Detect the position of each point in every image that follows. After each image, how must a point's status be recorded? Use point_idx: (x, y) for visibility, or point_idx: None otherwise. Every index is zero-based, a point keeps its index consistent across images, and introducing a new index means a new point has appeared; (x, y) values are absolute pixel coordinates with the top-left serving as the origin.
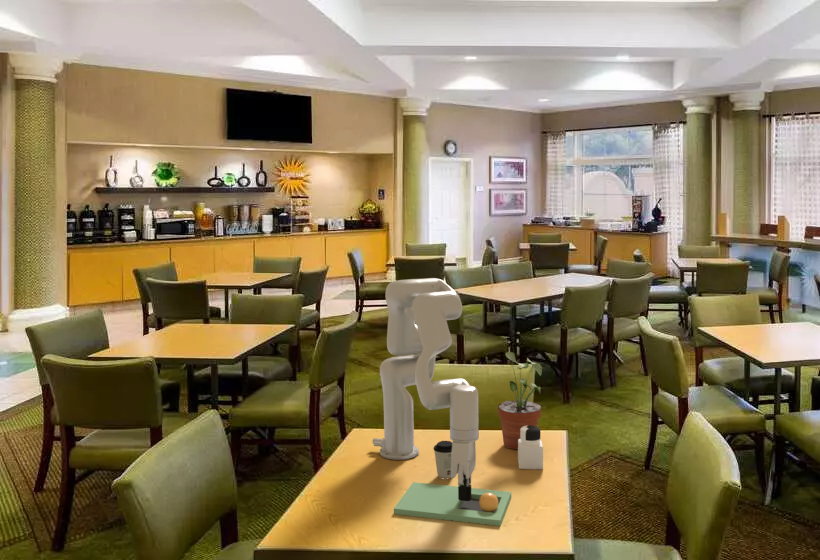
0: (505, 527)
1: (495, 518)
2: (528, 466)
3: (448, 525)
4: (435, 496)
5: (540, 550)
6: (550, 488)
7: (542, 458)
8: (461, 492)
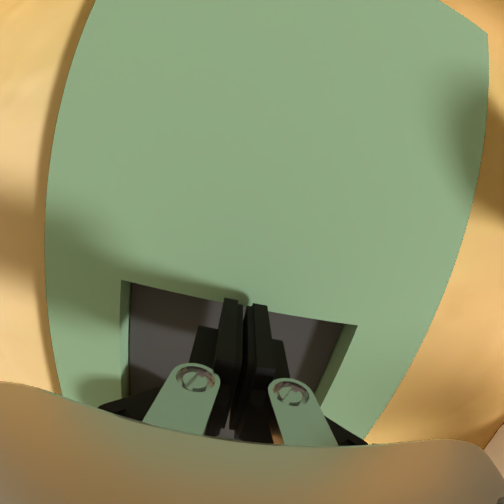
0: None
1: None
2: (492, 446)
3: (23, 225)
4: (314, 121)
5: None
6: None
7: None
8: (192, 351)
